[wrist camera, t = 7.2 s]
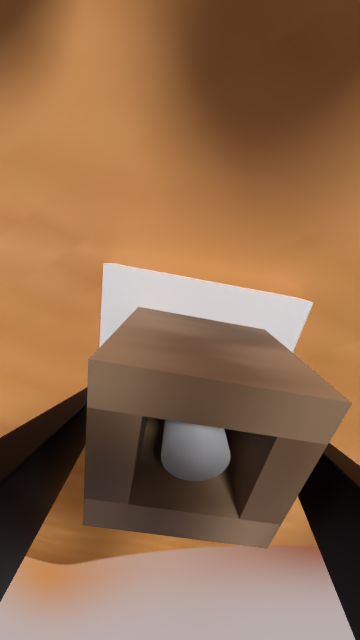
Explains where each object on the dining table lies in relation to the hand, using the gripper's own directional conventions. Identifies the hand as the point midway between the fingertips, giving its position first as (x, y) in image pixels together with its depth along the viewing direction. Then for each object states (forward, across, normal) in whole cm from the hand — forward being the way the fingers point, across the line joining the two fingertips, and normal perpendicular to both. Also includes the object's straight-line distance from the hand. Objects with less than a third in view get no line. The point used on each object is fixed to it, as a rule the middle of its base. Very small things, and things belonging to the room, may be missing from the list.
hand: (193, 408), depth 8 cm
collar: (+2, 0, 0) cm, 3 cm away
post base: (+4, 0, 0) cm, 4 cm away
